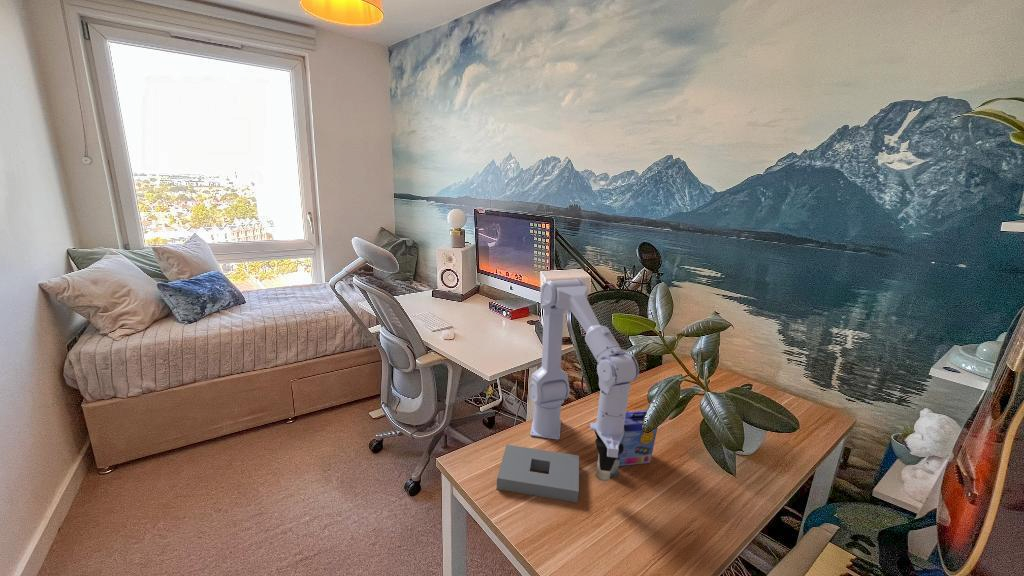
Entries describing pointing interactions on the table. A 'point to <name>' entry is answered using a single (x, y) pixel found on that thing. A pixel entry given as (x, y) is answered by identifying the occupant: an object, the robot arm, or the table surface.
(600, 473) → the birch pin
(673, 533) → the table surface
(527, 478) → the hole plate
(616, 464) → the short steel pin
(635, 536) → the table surface
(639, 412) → the ink cartridge box
